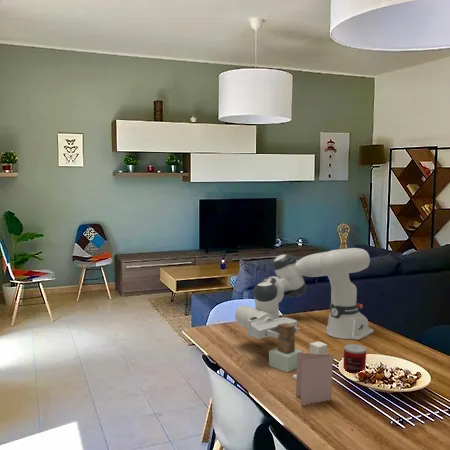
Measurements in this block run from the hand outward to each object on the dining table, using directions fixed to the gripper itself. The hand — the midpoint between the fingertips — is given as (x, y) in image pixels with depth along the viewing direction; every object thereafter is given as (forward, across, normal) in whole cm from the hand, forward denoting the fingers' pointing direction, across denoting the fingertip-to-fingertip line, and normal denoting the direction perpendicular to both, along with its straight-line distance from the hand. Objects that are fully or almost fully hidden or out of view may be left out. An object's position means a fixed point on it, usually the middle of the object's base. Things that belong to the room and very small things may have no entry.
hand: (287, 333), depth 189 cm
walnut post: (-1, 0, -7) cm, 7 cm away
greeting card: (+26, +13, -13) cm, 32 cm away
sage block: (-1, 0, -13) cm, 13 cm away
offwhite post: (+9, -7, -13) cm, 17 cm away
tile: (+13, +1, -13) cm, 19 cm away
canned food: (+21, -13, -13) cm, 28 cm away
